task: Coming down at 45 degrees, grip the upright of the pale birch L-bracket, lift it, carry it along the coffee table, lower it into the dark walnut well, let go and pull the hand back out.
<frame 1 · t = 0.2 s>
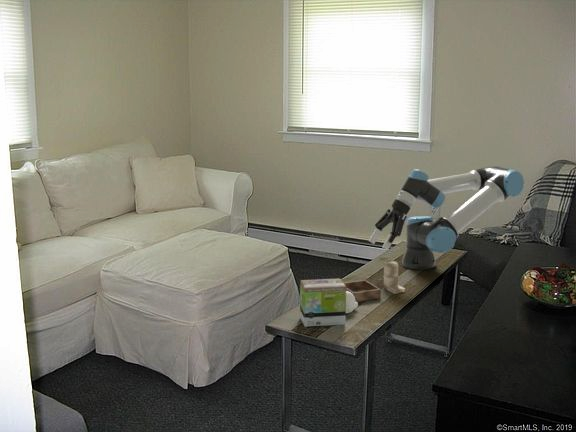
hand: (377, 245, 280), 16 cm above the table, tool tilted 35°, fingers open, 13 cm apart
tea box: (322, 322, 237), on the table
bracket: (394, 290, 271), on the table
rabbit: (339, 312, 247), on the table
well: (359, 295, 264), on the table
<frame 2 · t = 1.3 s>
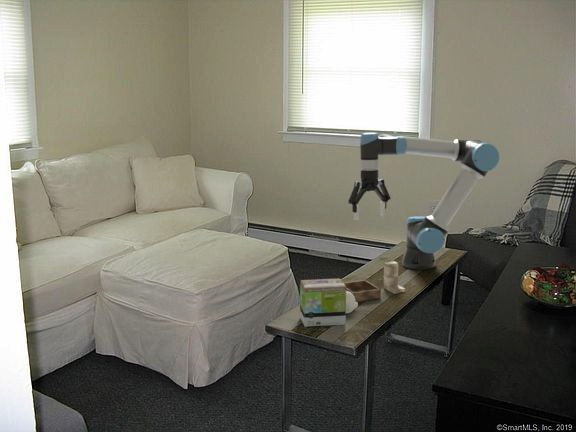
hand: (369, 218, 285), 26 cm above the table, tool pointing down, fingers open, 13 cm apart
nothing on the table moved.
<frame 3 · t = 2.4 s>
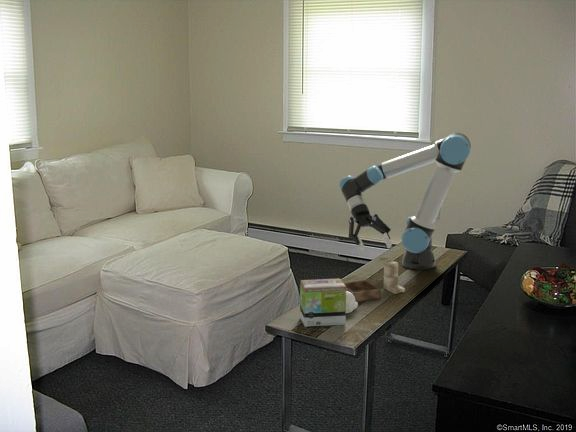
hand: (376, 248, 279), 15 cm above the table, tool tilted 45°, fingers open, 13 cm apart
nothing on the table moved.
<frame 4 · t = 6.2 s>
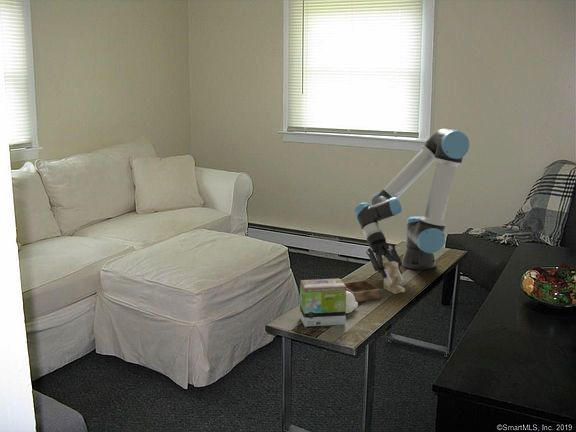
hand: (395, 283, 269), 3 cm above the table, tool tilted 45°, fingers closed on bracket, 5 cm apart
bracket: (394, 290, 271), on the table, touching gripper
everything else where it was.
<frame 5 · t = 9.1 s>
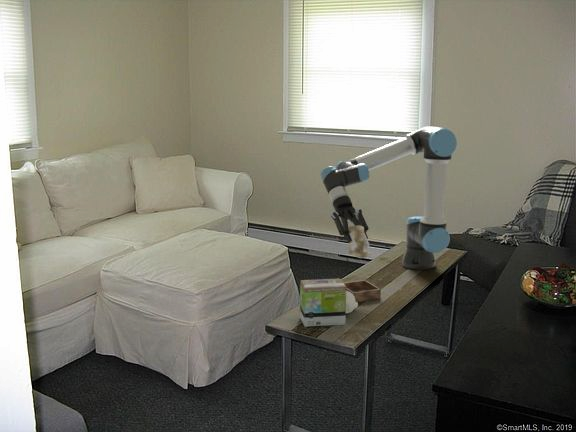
hand: (361, 247, 259), 20 cm above the table, tool tilted 45°, fingers closed on bracket, 5 cm apart
bracket: (359, 255, 261), point 17 cm above the table, touching gripper
everything else where it was.
when the fingers open (6 cm above the table, at t = 12.0 s): bracket drops 2 cm, resting on well.
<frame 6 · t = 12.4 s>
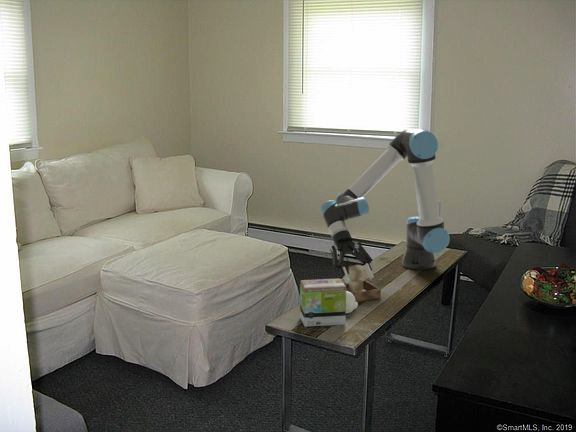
hand: (360, 280, 262), 7 cm above the table, tool tilted 45°, fingers open, 10 cm apart
bracket: (359, 294, 264), point 1 cm above the table, touching well
everything else where it was.
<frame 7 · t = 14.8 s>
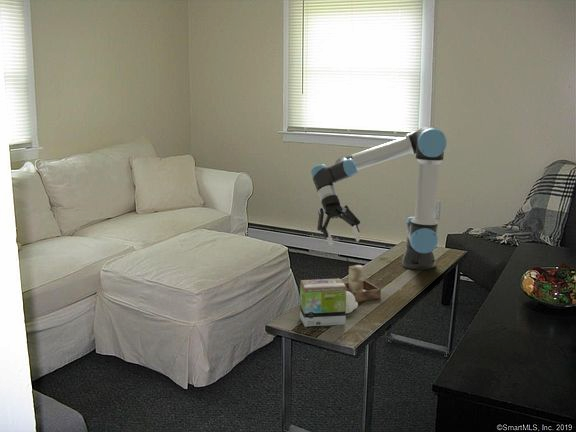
hand: (345, 242, 276), 18 cm above the table, tool tilted 40°, fingers open, 13 cm apart
nothing on the table moved.
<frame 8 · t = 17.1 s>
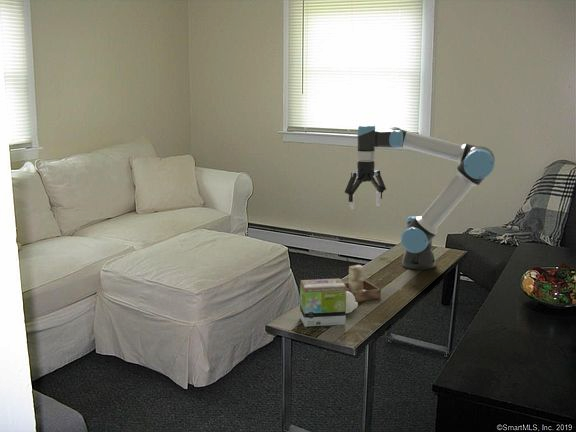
hand: (365, 207, 294), 29 cm above the table, tool pointing down, fingers open, 13 cm apart
nothing on the table moved.
at the end: bracket inside the target area on the well (0.1 cm from its centre), point 0.6 cm above the well's base; bracket tilted 0°; the gripper is holding nothing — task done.
